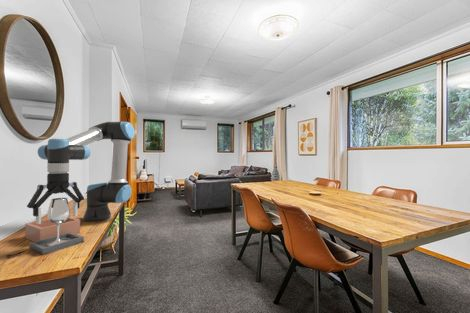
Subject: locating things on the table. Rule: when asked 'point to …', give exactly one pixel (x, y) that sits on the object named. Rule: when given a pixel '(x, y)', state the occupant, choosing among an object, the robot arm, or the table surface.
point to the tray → (44, 249)
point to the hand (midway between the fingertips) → (57, 219)
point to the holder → (50, 229)
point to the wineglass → (58, 216)
